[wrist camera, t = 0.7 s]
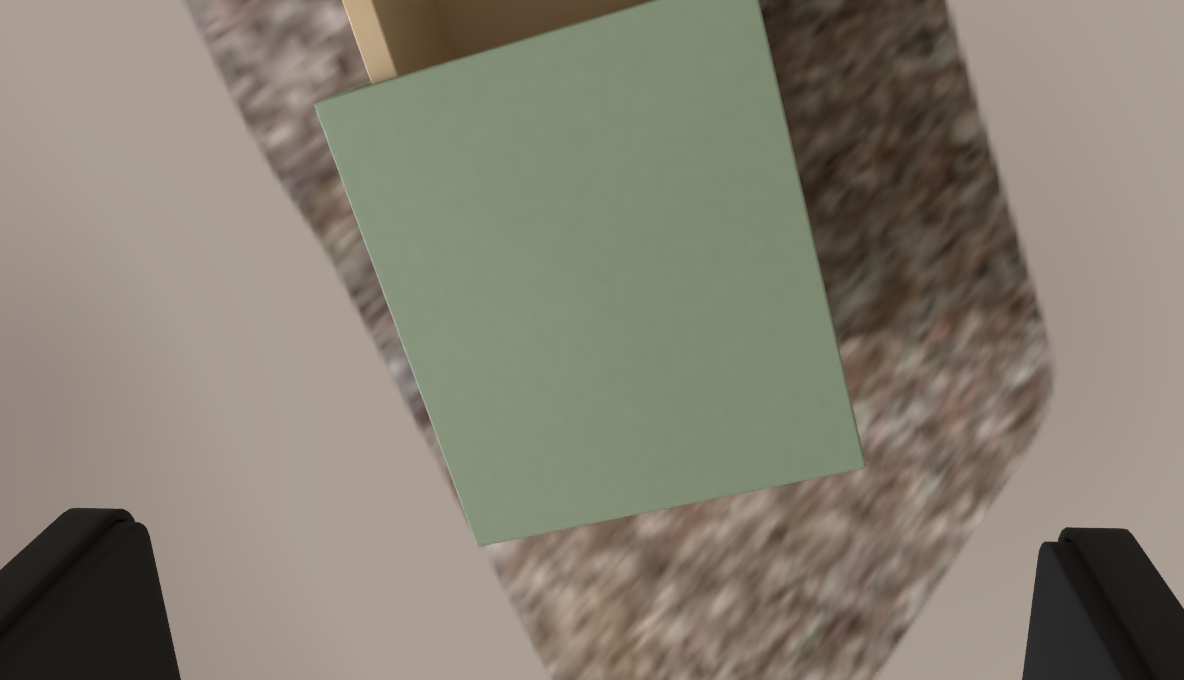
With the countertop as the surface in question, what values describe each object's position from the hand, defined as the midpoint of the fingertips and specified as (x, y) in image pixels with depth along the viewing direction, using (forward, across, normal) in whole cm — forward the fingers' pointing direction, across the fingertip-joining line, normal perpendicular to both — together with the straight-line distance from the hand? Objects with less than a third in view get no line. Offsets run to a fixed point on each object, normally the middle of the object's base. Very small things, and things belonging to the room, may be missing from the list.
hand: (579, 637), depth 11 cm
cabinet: (+27, +2, +2) cm, 28 cm away
